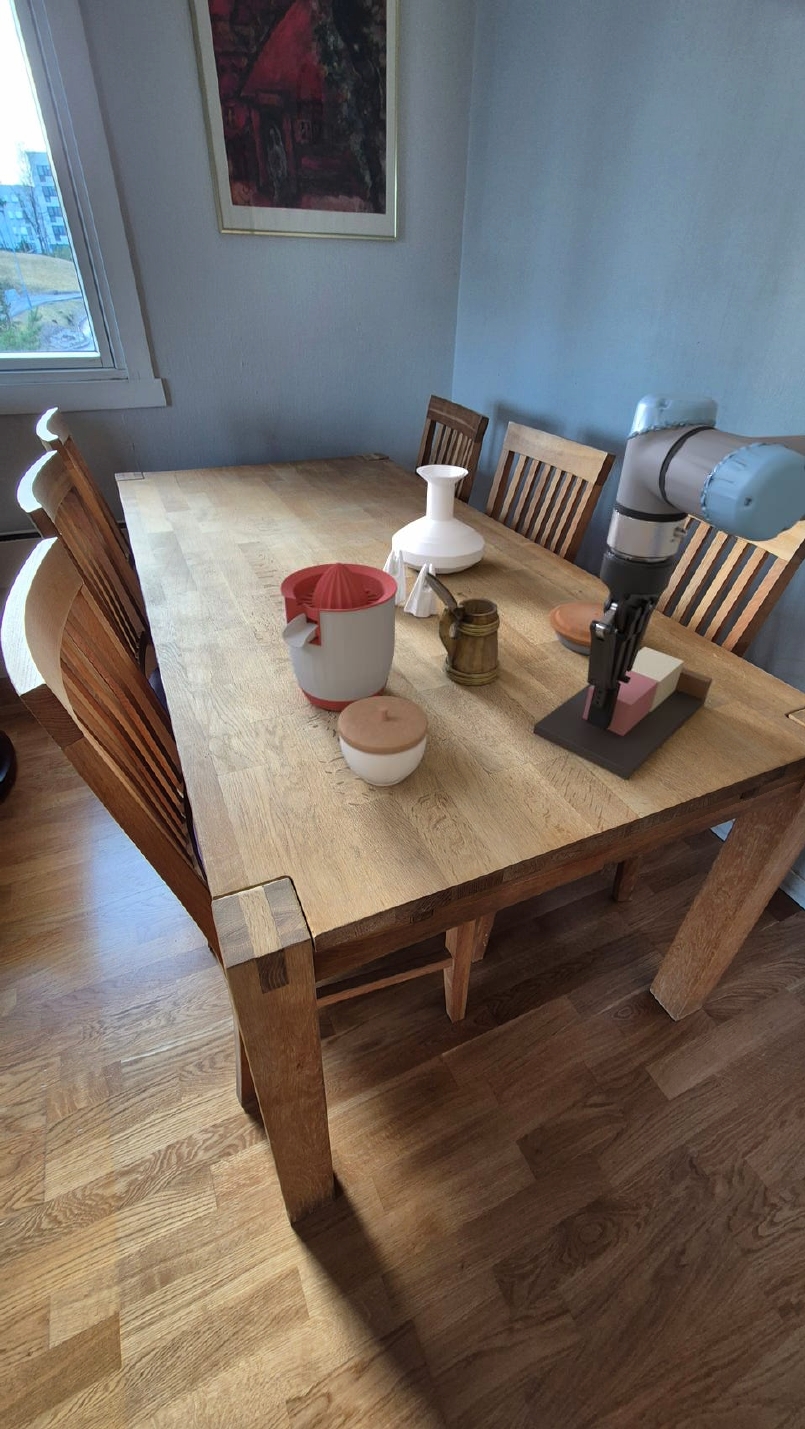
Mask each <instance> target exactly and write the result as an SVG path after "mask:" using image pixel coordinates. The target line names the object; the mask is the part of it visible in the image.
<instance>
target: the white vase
mask: <svg viewBox="0 0 805 1429" xmlns="http://www.w3.org/2000/svg"><path fill="white" fill-rule="evenodd" d="M416 473H417V474H419V476H420V477H421V478H423V479H424V480H425V481H426V482H427V497H426V515H425V516H423V517H421V518H419V519H416V520H415V521H411V522H410V523H409V524H407V525H405V526H404V527H403V528H401V529H399V530H398V531H397V532H396V533H395V534H394V535H393V536H392V550H395V557H396V558H397V553H398V550H401V551H402V555H403V562H404V565H407V567H408V568H410V569H412V570H416V571H418V572H421V570H422V568H423V566H424V565H425V564H427V570H426V573H427V572H429V568H430V565H431V564H433V565H434V567H435V574H453V573H459V572H462V571H465V570H466V569H469V568H470V567H472V566H474V565H475V564H477V563H479V562H480V561H481V560H482V558H483V557H484V555H485V551H486V550H485V549H486V541H485V539H484V537H483V536H482V535H481V534H480V533H479V532H477V531H476V530H475V529H474V528H473V527H471V526H469V525H467V524H465V523H464V522H462V521H460V519H459V520H458V519H457V518H455V517H454V505H455V491H456V483H458V482H459V481H460V480H461V479H463V478H464V477H465V476H467V475H468V474H469V471H468V470H467V469H465V468H464V467H460V466H456V465H449V464H448V465H447V464H427V465H423V466H419V467H418V468H416Z"/></svg>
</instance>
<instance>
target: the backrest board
mask: <svg viewBox="0 0 805 1429" xmlns="http://www.w3.org/2000/svg"><path fill="white" fill-rule="evenodd" d="M639 651H640V650H639ZM639 651H638V652H639ZM712 682H713V678H712V677H710V676H707V675H704V674H701V673H698V672H696V671H693V670H690V669H687V668H685V667H682V670H681V673H680V676H679V679H678V682H677V685H676V689H675V691H674V692H672V693H671V694H670V695H669V696H668V697H667V698H666V699H665V700H664V701H662V702H661V703H660V704H659V705H658V706H657V707H656V708H655V709H653V710H652V711H651V712H649V713H648V714H647V715H645V716H644V717H643V718H642V719H641V720H640V721H639V722H638V723H637V724H636V725H635V726H633V727H632V728H631V729H630V730H629V731H628V732H627V733H626V734H625V735H624V736H621V735H619V734H617V733H615V732H613V731H610V730H608V729H606V730H603V729H601V728H598V727H596V726H594V725H592V724H590V723H587V722H586V721H587V720H586V719H584V718H583V715H584V711H585V706H586V702H587V697H588V693H589V688H590V687H591V686H592V685H591V684H589V683H588V684H587V685H586V686H584V687H583V688H582V689H581V690H579V691H577V693H575V694H574V695H572V696H570V698H568V699H567V700H566V701H564V702H562V704H560V705H559V706H557V707H555V709H554V710H551V712H549V713H548V714H547V715H545V716H544V717H543V718H541V719H540V720H538V722H536V723H534V725H533V726H534V727H533V730H532V734H534V735H536V736H538V737H540V738H542V739H543V740H546V741H548V742H550V743H552V744H554V745H556V746H557V747H560V748H562V749H564V750H566V751H568V752H569V753H571V754H574V755H576V756H577V757H580V758H582V759H584V760H586V761H588V762H590V763H592V764H594V765H596V766H598V767H600V768H602V769H604V770H606V771H608V772H610V773H612V774H614V775H616V776H618V777H620V778H622V779H624V780H625V781H628V780H630V779H631V778H632V777H633V776H634V774H635V773H637V772H638V770H640V769H641V768H642V767H643V766H644V765H645V764H646V762H647V761H648V760H650V758H651V757H653V756H654V755H655V754H656V753H657V752H658V751H659V750H660V749H661V747H663V746H664V744H666V743H667V742H668V740H670V739H671V738H672V737H673V736H674V735H675V734H676V733H677V732H678V731H679V730H680V729H681V728H682V727H683V726H684V725H685V724H686V723H687V722H688V721H689V720H690V719H691V718H692V717H693V716H694V715H695V714H696V713H697V712H698V711H699V710H700V709H701V708H702V707H703V706H704V704H705V701H706V699H707V696H708V693H709V690H710V688H711V685H712Z"/></svg>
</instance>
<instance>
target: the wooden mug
mask: <svg viewBox="0 0 805 1429" xmlns="http://www.w3.org/2000/svg"><path fill="white" fill-rule="evenodd" d="M426 581H427V583H428V584H429V586H430V587H431V588H432V589H433V591H434V592H435V593H436V594H437V598H439V600H440V601H441V602H442V603H443V604H444V606H445V607H444V609H443V611H442V612H441V615H440V619H439V622H438V629H437V630H438V637H439V639H440V641H441V644H442V645H443V647H444V649H445V651H446V653H447V654H446V656H445V657H444V660H443V663H442V671H443V673H444V674H445V675H446V676H447V677H448V678H449V679H450V680H452V681H453V682H456V683H458V684H462V685H465V686H469V687H470V686H482V685H483V686H484V685H488V684H490V683H492V682H494V681H495V680H497V679H498V678H499V677H500V674H501V664H500V663H501V662H500V660H499V635H498V633H499V632H498V631H499V629H500V626H501V621H500V615H499V612H498V609H499V608H498V604H496V603H495V602H494V601H492V600H491V599H487V598H484V597H483V598H482V597H481V598H480V597H473V598H472V597H471V598H467V599H464V600H461V601H459V603H458V601H457V599H456V598H455V596H454V595H453V594H452V593H451V591H450V590H449V589H448V588H447V587H446V585H444V583H443V582H442V581H441V580H440V579H438V578H437V576H436V577H435V576H434V575H432V574H431V573H429V572H426V575H425V582H426ZM451 627H452V631H451V634H450V630H451Z"/></svg>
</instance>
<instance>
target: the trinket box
mask: <svg viewBox="0 0 805 1429" xmlns="http://www.w3.org/2000/svg"><path fill="white" fill-rule="evenodd" d="M340 712H341V713H340V714H339V716H338V718H337V731H338V733H339V735H338V736H339V744H340V749H341V753H342V756H343V759H344V762H345V763H346V764H347V767H348V768H349V769H350V770H351V772H353V773H354V774H355V775H356V776H357V777H359V778H361V780H363V781H364V782H365V783H367V784H369V785H372V786H376V787H391V786H393V785H396V784H399V783H400V782H402V781H403V780H405V779H406V778H407V777H408V776H410V775H411V774H412V773H413V772H414V771H415V770H416V769H417V767H418V766H419V764H420V763H421V761H422V759H423V756H424V754H425V750H426V745H427V738H428V737H427V736H428V735H427V734H428V730H429V719H428V716H427V714H426V712H425V711H424V710H423V709H422V708H421V707H420V706H419V705H417V704H416V703H414V702H412V701H411V700H408V699H405V698H402V697H397V696H390V695H380V696H374V697H368V698H364V699H361V700H358V701H356V702H354V703H352V704H350V705H349V706H347V707H346V708H345V709H344V710H343V711H340Z"/></svg>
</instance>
